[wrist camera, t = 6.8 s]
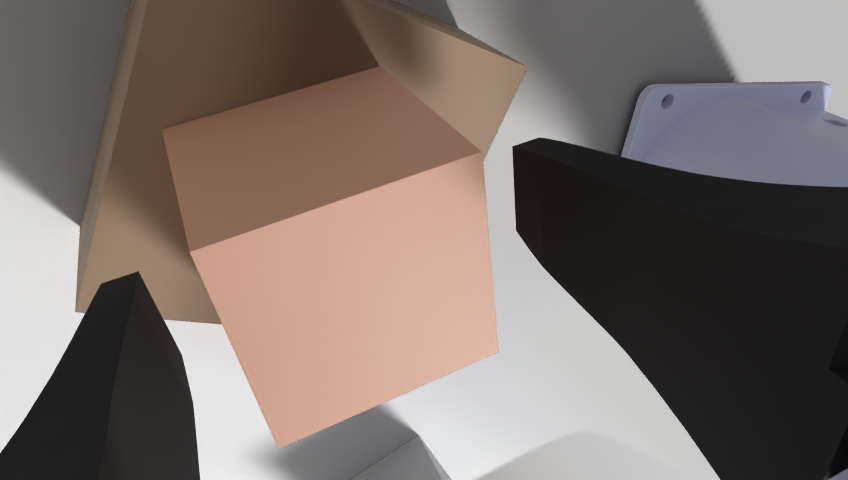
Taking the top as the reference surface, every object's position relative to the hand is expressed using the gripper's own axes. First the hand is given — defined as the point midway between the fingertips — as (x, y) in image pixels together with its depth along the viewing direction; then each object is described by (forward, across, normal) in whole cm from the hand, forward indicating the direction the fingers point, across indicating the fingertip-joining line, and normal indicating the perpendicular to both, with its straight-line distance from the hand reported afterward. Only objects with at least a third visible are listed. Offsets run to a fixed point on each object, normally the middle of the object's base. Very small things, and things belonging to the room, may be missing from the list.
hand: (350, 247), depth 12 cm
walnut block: (+7, 0, 0) cm, 7 cm away
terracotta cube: (+3, 0, 0) cm, 3 cm away
